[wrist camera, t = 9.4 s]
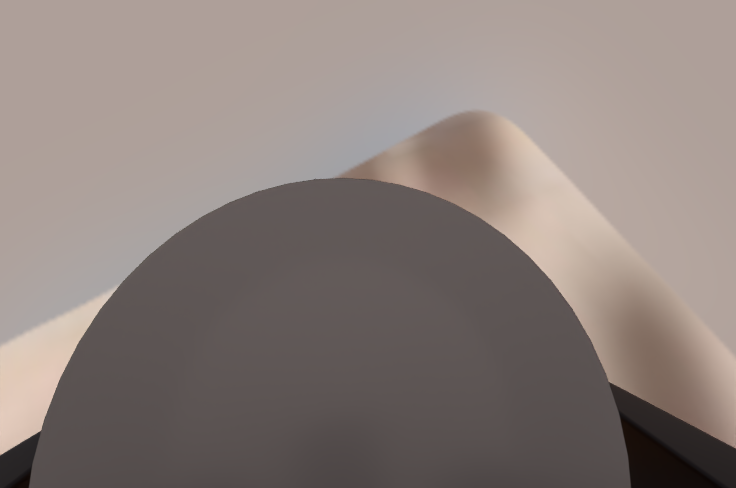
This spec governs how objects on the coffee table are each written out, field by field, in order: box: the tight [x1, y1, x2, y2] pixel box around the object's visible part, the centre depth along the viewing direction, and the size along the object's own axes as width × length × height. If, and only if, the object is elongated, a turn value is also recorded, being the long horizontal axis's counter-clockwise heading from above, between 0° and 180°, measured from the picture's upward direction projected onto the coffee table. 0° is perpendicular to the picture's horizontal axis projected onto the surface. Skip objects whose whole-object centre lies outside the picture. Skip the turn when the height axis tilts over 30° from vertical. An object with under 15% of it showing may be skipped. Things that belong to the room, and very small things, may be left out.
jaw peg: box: [29, 178, 631, 488], centre depth 9 cm, size 5×5×13 cm
